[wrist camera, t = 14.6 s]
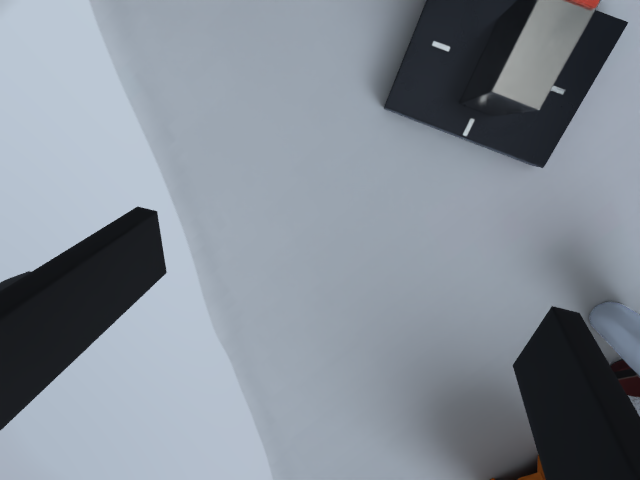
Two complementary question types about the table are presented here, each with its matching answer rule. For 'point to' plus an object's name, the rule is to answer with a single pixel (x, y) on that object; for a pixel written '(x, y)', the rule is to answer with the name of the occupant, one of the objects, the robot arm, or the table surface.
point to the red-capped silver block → (526, 55)
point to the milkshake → (619, 331)
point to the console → (460, 63)
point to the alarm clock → (535, 478)
